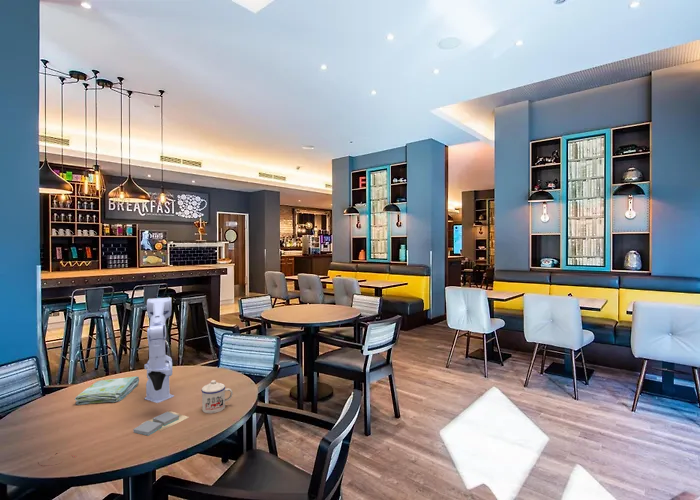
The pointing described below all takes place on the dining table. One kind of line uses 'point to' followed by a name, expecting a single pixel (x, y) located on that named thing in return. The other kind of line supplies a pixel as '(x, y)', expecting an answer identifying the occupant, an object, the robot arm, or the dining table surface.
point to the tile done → (147, 428)
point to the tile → (166, 418)
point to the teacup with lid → (214, 397)
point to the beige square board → (181, 418)
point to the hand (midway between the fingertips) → (158, 389)
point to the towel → (107, 390)
